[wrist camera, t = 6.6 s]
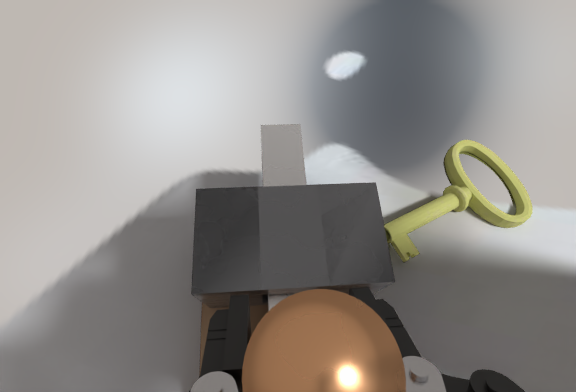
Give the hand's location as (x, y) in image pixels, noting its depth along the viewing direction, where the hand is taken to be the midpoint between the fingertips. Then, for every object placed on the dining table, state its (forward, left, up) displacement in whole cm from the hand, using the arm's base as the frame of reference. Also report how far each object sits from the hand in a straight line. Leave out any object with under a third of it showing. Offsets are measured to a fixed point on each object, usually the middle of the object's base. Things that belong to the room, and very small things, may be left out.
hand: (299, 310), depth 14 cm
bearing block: (0, -4, -8) cm, 8 cm away
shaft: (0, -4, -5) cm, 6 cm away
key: (-12, -7, -8) cm, 17 cm away
